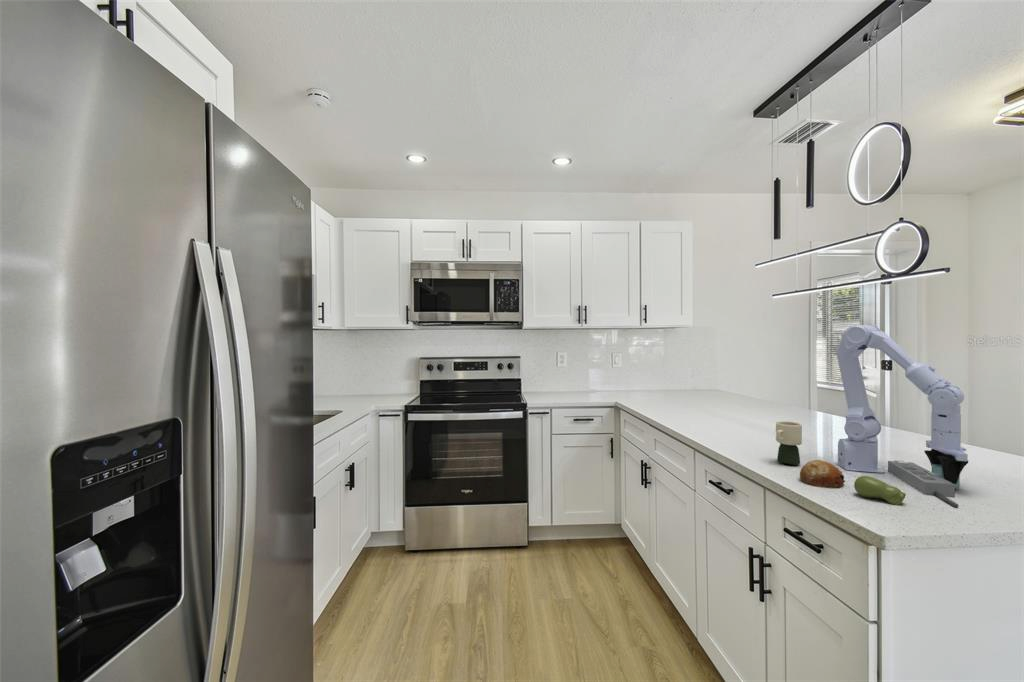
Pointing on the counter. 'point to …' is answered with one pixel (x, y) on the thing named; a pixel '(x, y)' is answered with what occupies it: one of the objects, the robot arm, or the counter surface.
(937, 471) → the block
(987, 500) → the counter surface
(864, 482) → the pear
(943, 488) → the power strip
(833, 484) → the bread roll
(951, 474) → the robot arm
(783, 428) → the character mug
